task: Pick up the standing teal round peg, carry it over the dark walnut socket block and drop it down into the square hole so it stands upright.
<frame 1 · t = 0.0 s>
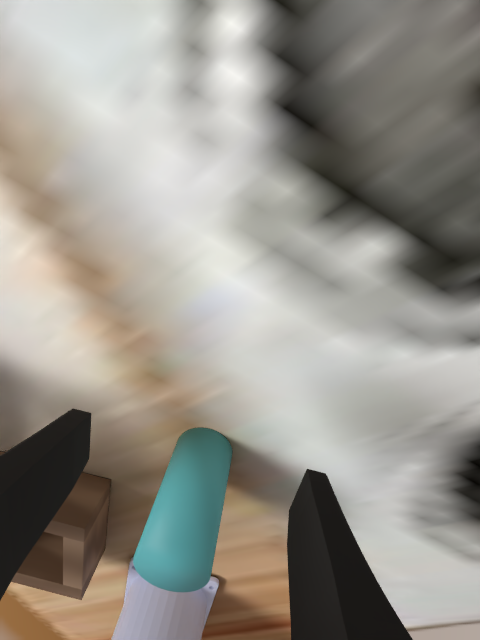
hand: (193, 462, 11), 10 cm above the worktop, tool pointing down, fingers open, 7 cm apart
peg: (204, 449, 25), on the worktop
socket block: (55, 503, 29), on the worktop
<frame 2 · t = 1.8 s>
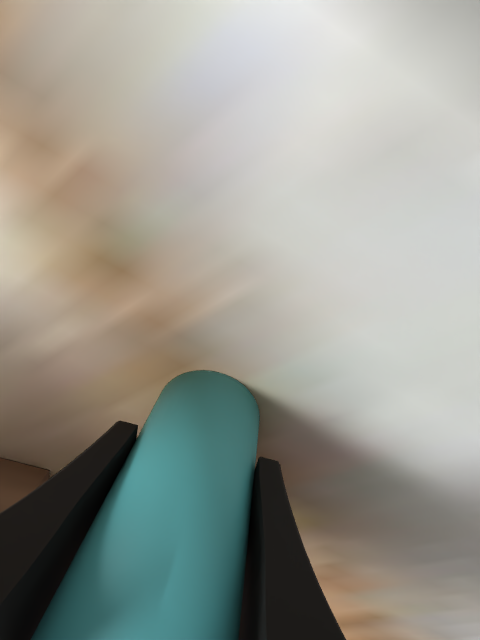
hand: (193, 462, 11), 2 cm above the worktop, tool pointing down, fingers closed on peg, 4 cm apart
peg: (208, 414, 14), on the worktop, touching gripper
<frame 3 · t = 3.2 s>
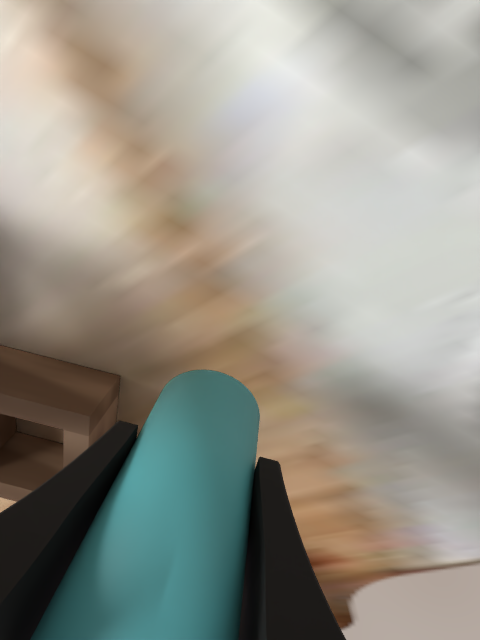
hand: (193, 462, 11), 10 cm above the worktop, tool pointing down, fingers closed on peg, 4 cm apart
peg: (208, 413, 14), point 8 cm above the worktop, touching gripper
socket block: (54, 411, 25), on the worktop
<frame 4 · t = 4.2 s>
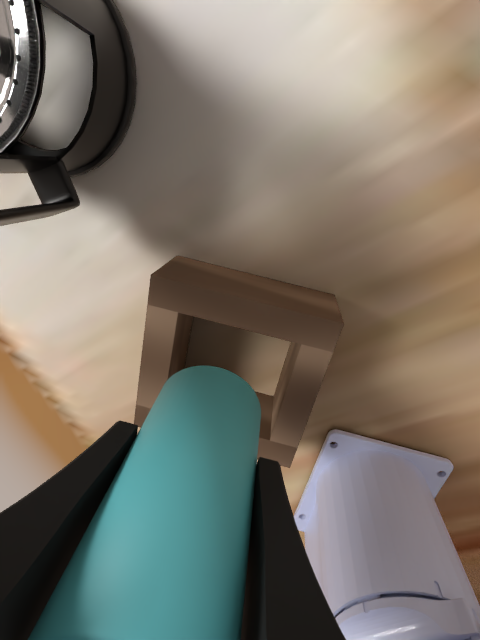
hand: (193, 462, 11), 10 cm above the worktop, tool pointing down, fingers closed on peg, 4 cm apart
peg: (209, 409, 14), point 8 cm above the worktop, touching gripper
french press: (51, 85, 17), on the worktop
socket block: (238, 344, 21), on the worktop
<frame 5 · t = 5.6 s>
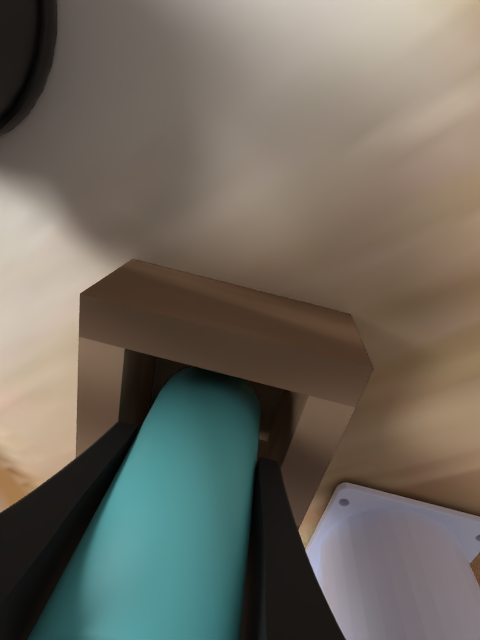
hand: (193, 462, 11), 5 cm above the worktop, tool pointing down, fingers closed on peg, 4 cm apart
peg: (209, 409, 14), point 3 cm above the worktop, touching gripper
socket block: (219, 377, 16), on the worktop
when the fingers open (5 cm above the worktop, at t = 6.7 s): peg drops 2 cm, resting in socket block.
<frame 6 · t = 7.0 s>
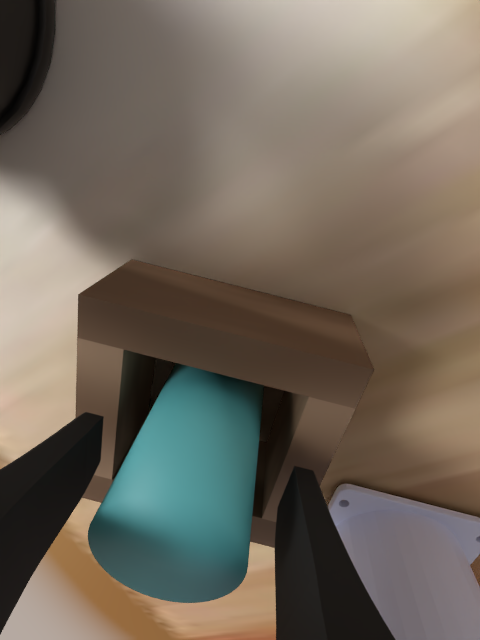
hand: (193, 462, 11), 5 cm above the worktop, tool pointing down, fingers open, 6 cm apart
peg: (220, 374, 16), resting in socket block
socket block: (219, 378, 16), on the worktop
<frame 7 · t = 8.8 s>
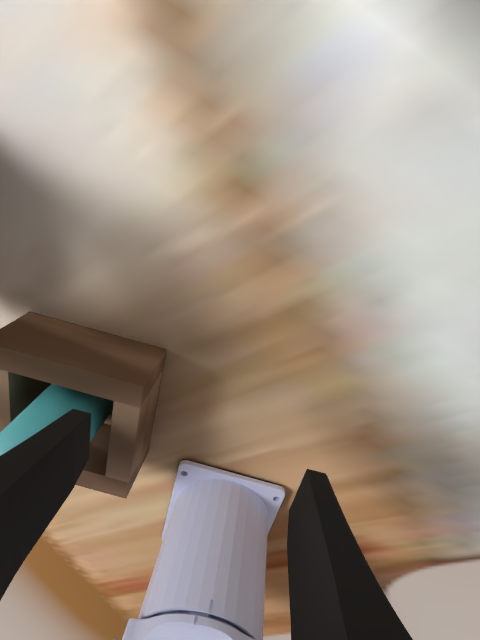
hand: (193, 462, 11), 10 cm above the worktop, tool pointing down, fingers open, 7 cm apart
peg: (94, 384, 24), resting in socket block
socket block: (93, 387, 24), on the worktop
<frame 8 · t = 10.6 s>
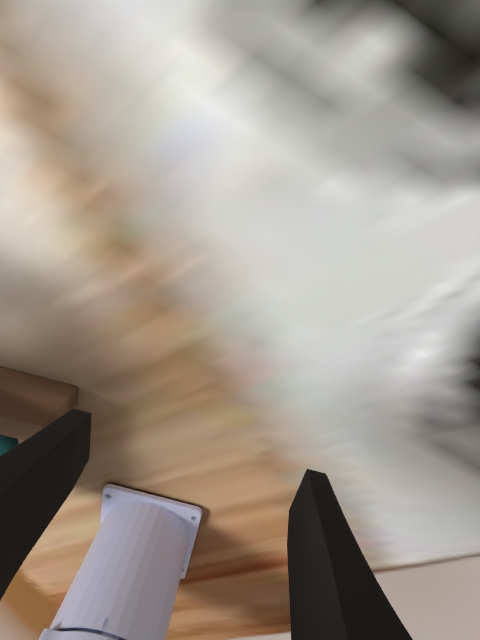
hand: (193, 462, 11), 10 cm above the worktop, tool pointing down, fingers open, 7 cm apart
peg: (18, 417, 26), resting in socket block
socket block: (18, 419, 26), on the worktop
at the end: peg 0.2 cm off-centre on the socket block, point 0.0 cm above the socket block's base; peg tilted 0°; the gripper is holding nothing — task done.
